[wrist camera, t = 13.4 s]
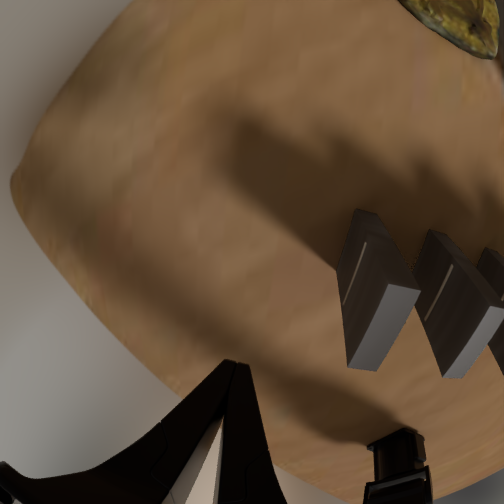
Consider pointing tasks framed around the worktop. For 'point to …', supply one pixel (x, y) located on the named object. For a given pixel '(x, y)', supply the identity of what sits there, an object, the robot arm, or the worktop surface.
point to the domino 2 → (454, 305)
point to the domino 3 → (500, 279)
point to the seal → (461, 23)
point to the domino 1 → (372, 291)
